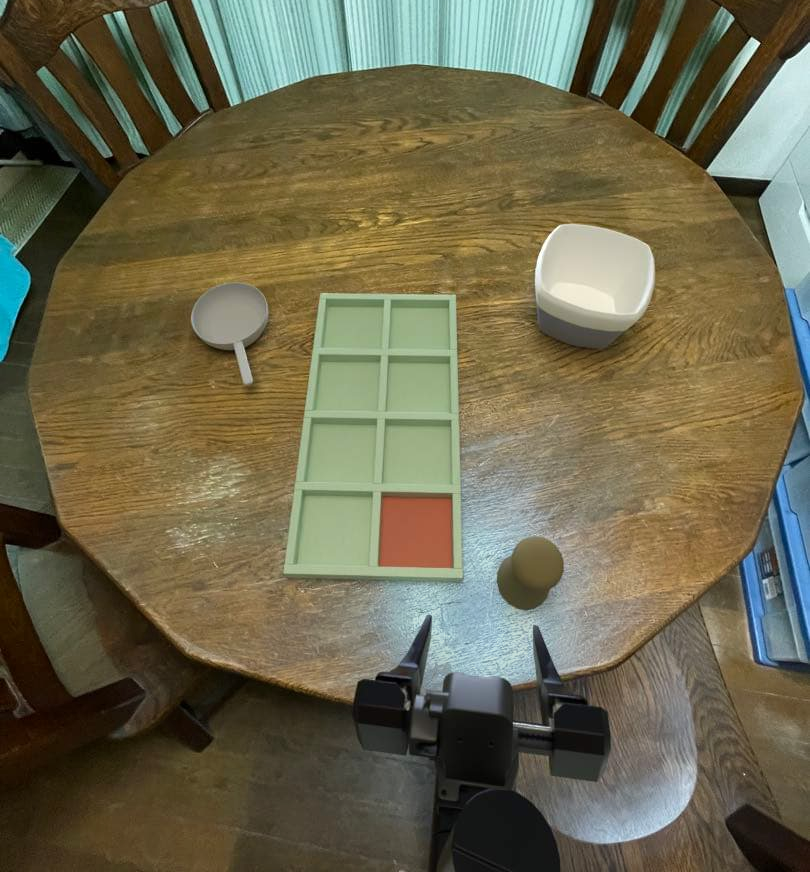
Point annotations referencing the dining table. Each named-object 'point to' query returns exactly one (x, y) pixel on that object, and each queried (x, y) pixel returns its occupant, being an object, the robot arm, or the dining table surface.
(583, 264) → the bowl
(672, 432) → the dining table surface
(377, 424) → the grid
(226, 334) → the grey frying pan
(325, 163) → the dining table surface
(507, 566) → the cork
